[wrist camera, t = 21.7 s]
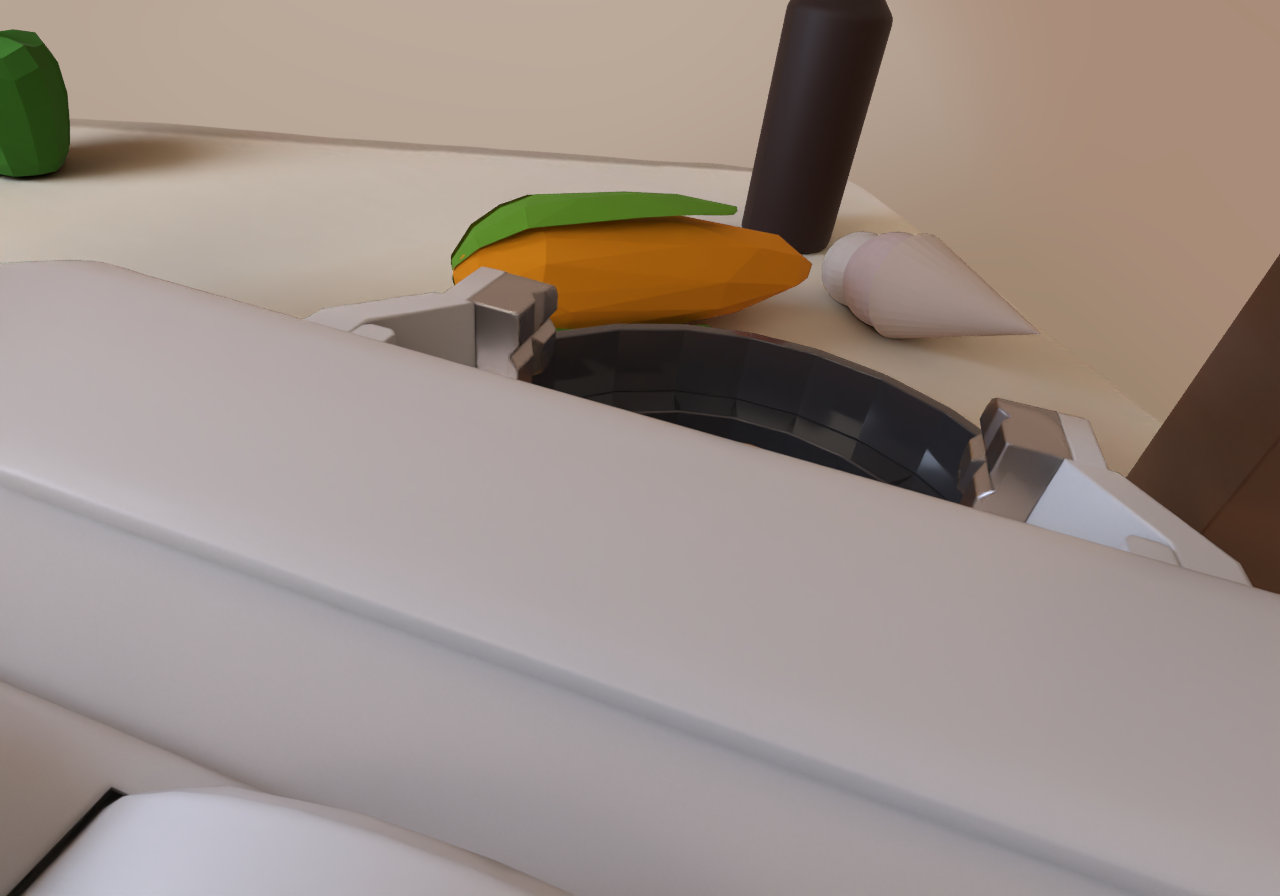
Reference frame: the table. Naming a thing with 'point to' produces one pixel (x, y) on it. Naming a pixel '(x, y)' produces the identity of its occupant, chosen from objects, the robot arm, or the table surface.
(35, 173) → the bell pepper
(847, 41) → the bottle
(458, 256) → the corn
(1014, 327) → the ice cream cone
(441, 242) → the table surface
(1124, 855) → the robot arm
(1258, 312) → the stand
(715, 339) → the bowl
